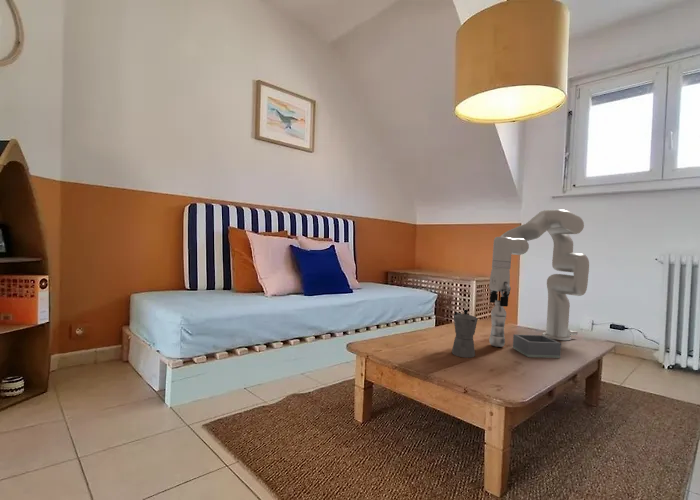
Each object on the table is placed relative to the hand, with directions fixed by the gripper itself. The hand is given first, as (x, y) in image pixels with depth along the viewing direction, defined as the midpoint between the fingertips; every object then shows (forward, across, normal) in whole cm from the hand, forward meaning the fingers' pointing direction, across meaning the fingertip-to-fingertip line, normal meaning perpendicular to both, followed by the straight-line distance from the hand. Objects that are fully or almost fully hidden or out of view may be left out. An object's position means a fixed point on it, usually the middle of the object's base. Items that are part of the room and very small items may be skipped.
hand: (498, 304), depth 163 cm
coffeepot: (+19, +12, -19) cm, 30 cm away
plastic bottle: (+19, 0, +1) cm, 19 cm away
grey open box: (+18, +8, +14) cm, 24 cm away
